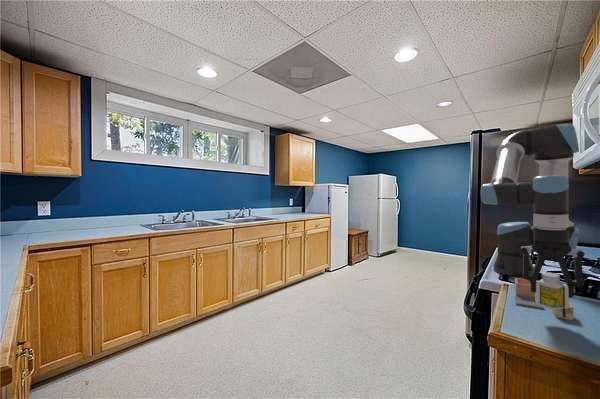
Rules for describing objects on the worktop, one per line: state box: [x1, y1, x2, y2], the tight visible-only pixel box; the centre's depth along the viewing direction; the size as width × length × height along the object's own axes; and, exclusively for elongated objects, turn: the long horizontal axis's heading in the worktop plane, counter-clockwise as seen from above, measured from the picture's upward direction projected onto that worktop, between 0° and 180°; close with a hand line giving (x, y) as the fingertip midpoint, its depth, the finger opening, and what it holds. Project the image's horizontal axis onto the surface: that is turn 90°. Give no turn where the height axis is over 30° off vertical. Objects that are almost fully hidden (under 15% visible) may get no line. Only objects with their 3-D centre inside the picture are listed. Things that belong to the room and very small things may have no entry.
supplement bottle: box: [538, 271, 564, 310], centre depth 78 cm, size 5×5×10 cm
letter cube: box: [552, 301, 574, 321], centre depth 81 cm, size 4×4×4 cm
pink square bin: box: [514, 277, 535, 299], centre depth 97 cm, size 7×7×5 cm
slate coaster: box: [514, 295, 545, 310], centre depth 91 cm, size 7×7×1 cm
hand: (551, 304), depth 78 cm, fingers closed on supplement bottle, 5 cm apart
